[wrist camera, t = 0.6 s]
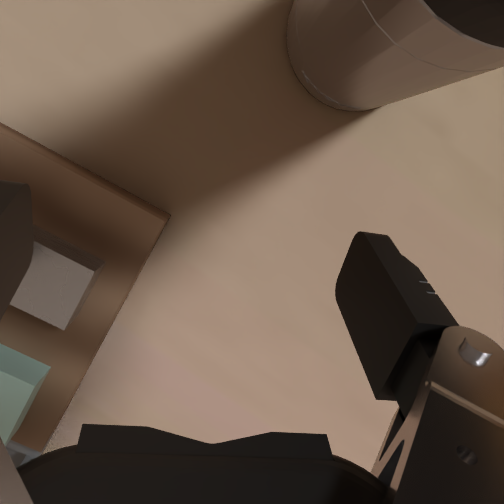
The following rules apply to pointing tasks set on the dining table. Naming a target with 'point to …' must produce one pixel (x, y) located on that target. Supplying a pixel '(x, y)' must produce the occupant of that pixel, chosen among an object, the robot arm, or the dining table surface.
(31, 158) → the walnut plate
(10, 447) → the box
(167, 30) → the dining table surface
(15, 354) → the tile
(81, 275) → the cylinder on base
